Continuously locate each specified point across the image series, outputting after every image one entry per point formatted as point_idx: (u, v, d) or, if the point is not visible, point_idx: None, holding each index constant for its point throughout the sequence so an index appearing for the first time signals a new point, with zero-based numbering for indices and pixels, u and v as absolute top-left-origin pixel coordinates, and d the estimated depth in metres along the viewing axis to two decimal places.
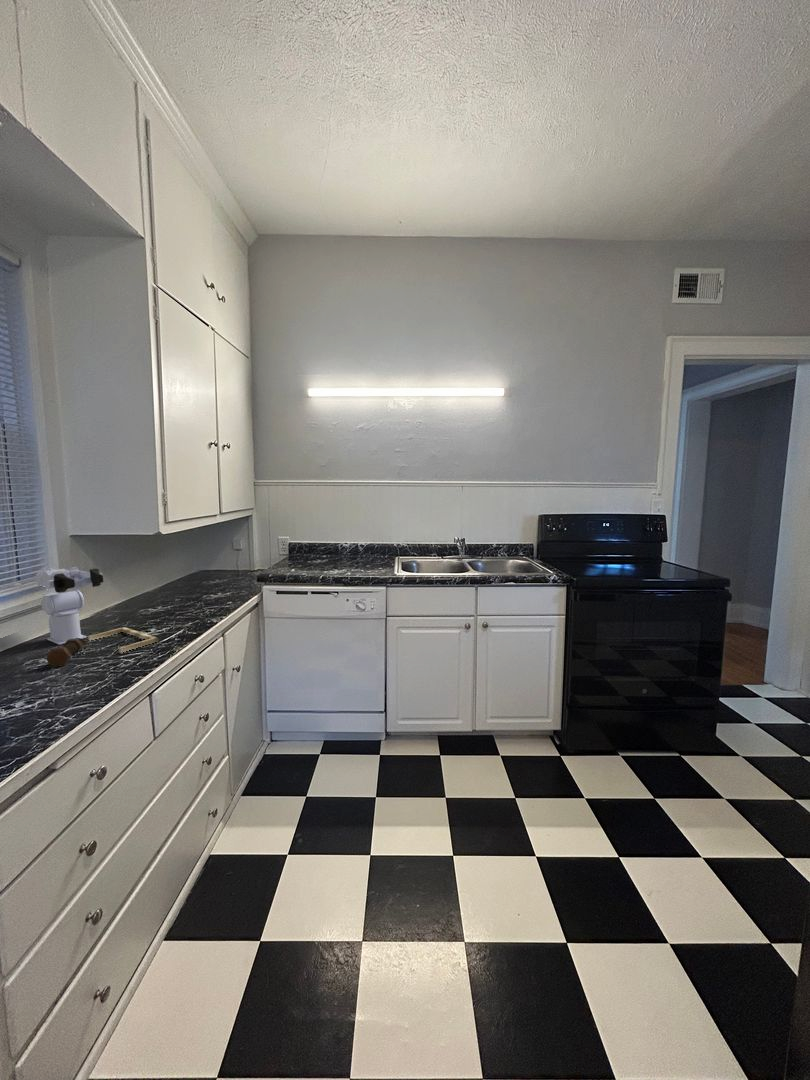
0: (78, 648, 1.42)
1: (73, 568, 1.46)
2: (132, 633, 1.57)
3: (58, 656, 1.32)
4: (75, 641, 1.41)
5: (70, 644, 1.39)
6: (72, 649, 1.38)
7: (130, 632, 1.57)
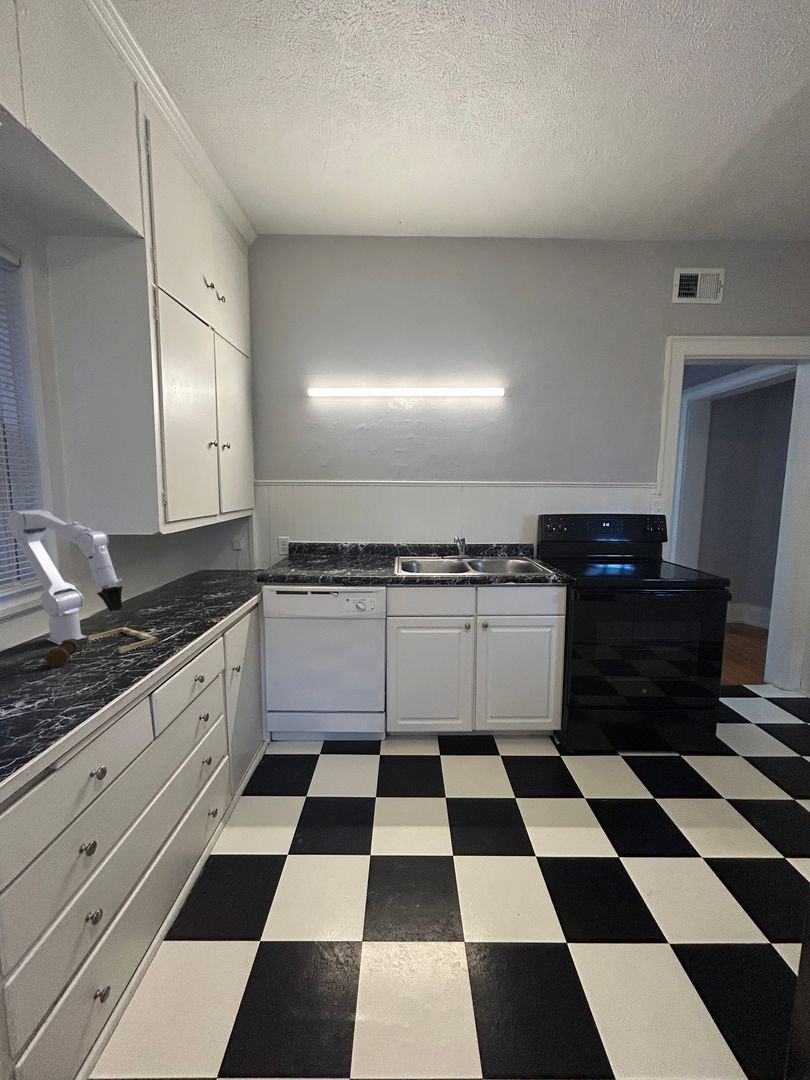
0: (74, 649, 1.41)
1: (120, 580, 1.50)
2: (132, 633, 1.57)
3: (57, 656, 1.32)
4: (71, 642, 1.41)
5: (67, 645, 1.39)
6: (69, 649, 1.38)
7: (130, 632, 1.57)
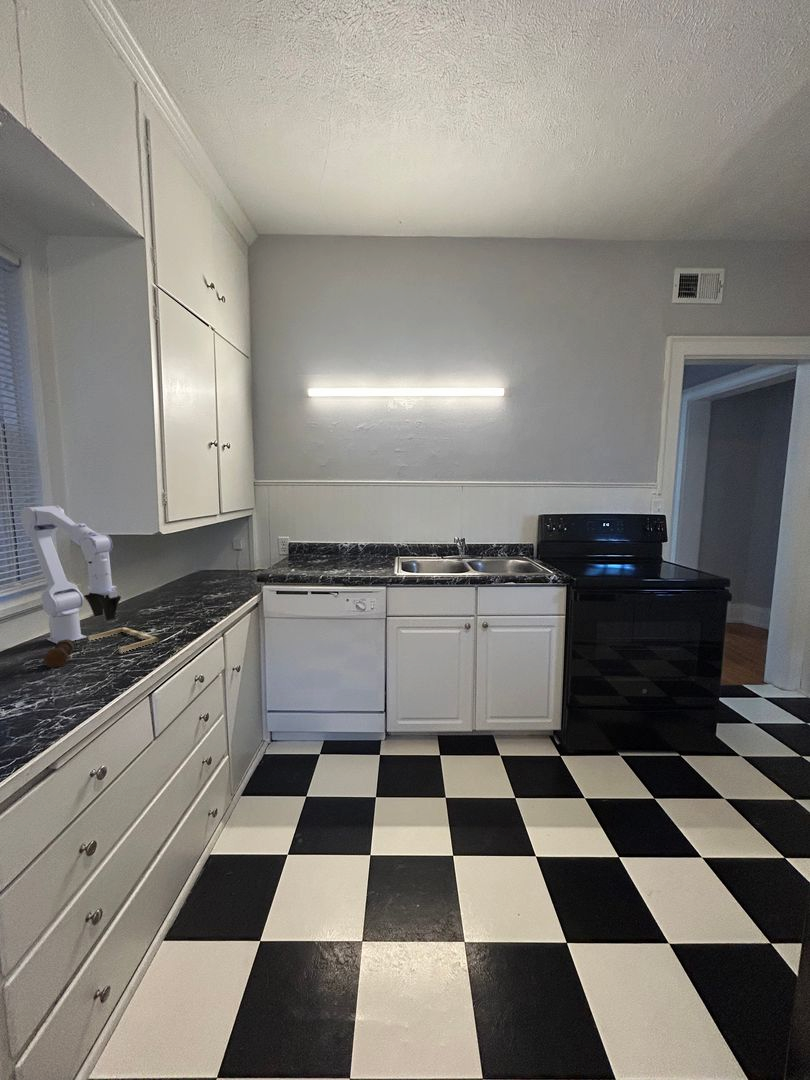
0: (70, 649, 1.41)
1: None
2: (132, 633, 1.57)
3: (56, 656, 1.32)
4: (67, 642, 1.41)
5: (63, 645, 1.39)
6: (66, 650, 1.38)
7: (130, 632, 1.57)
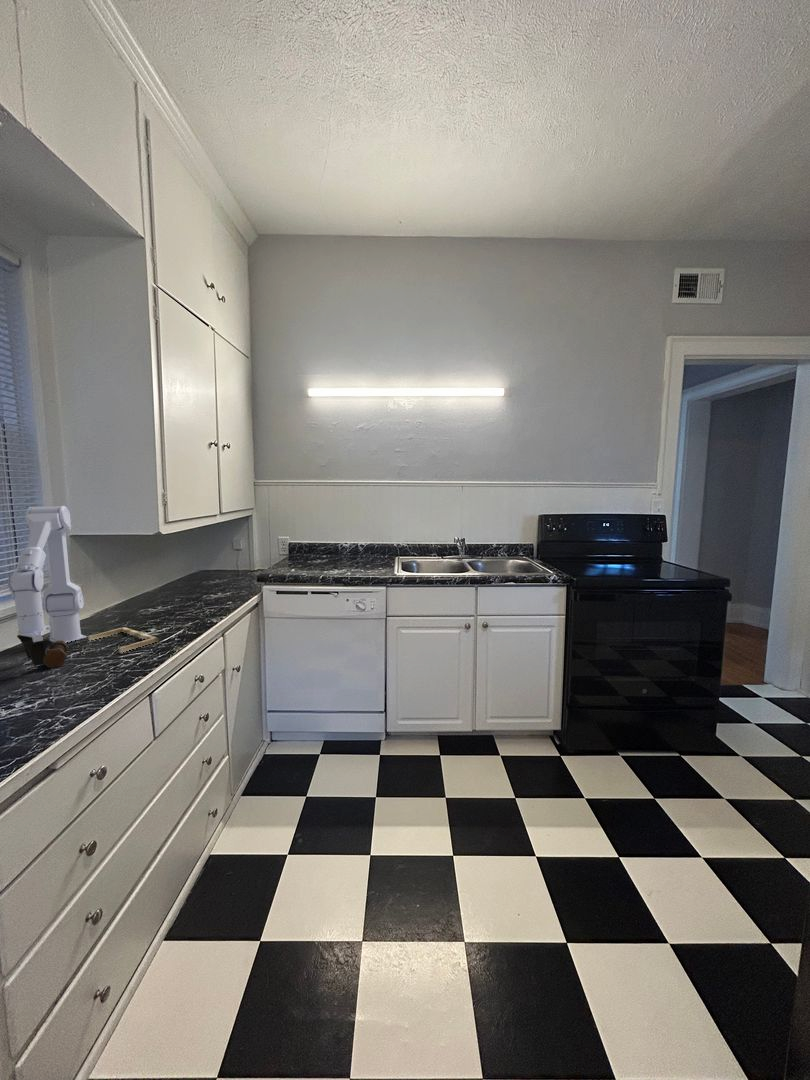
0: (65, 650, 1.40)
1: None
2: (132, 633, 1.57)
3: (55, 657, 1.31)
4: (61, 643, 1.40)
5: (58, 646, 1.38)
6: (63, 650, 1.37)
7: (130, 632, 1.57)
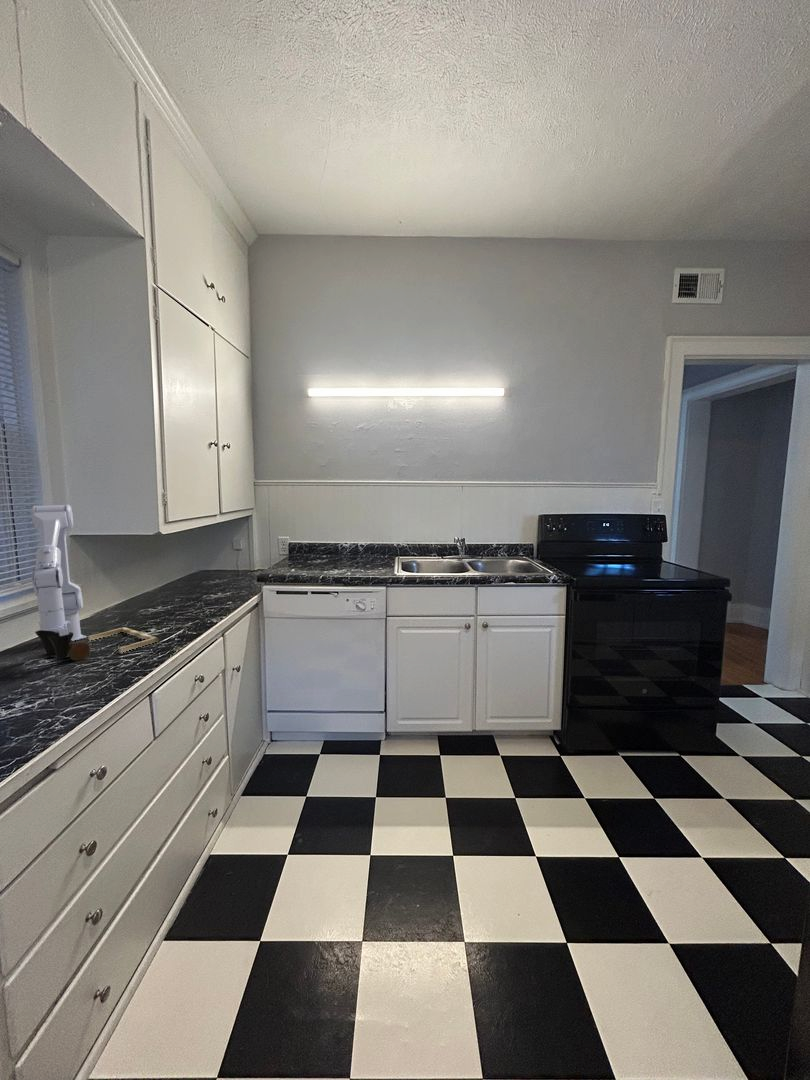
0: None
1: None
2: (132, 633, 1.57)
3: (81, 649, 1.36)
4: None
5: None
6: None
7: (130, 632, 1.57)
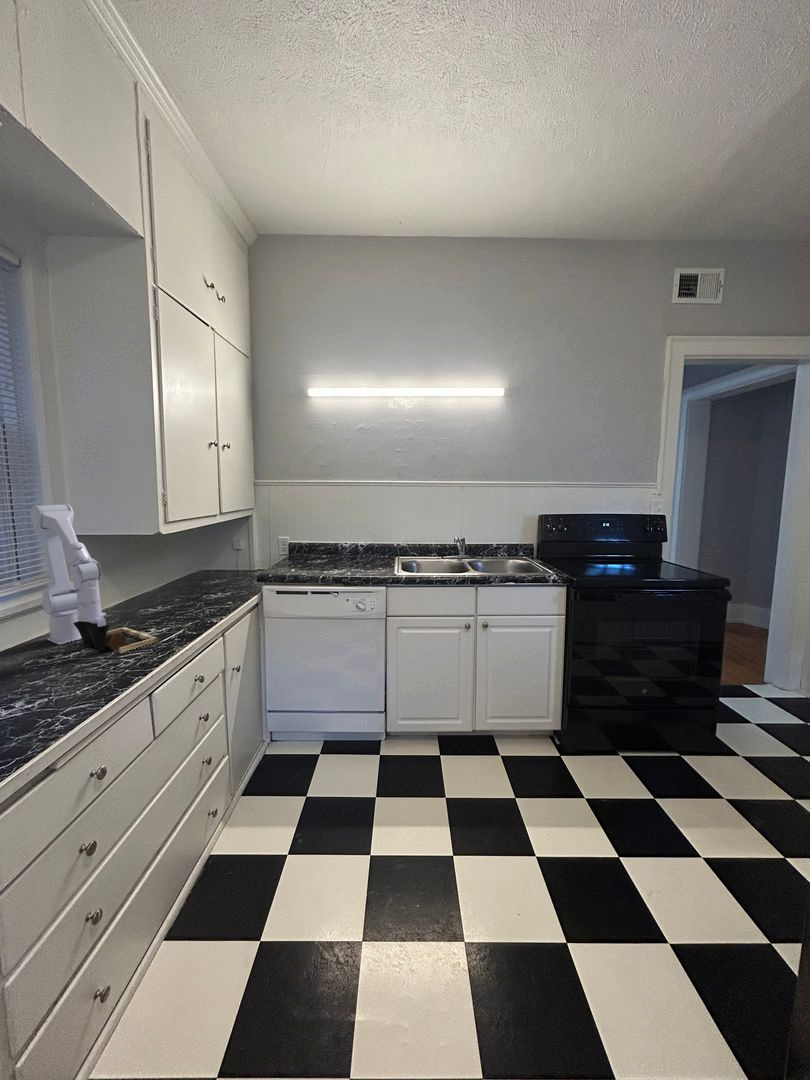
0: None
1: None
2: (132, 633, 1.57)
3: (119, 639, 1.45)
4: None
5: None
6: None
7: (130, 632, 1.57)
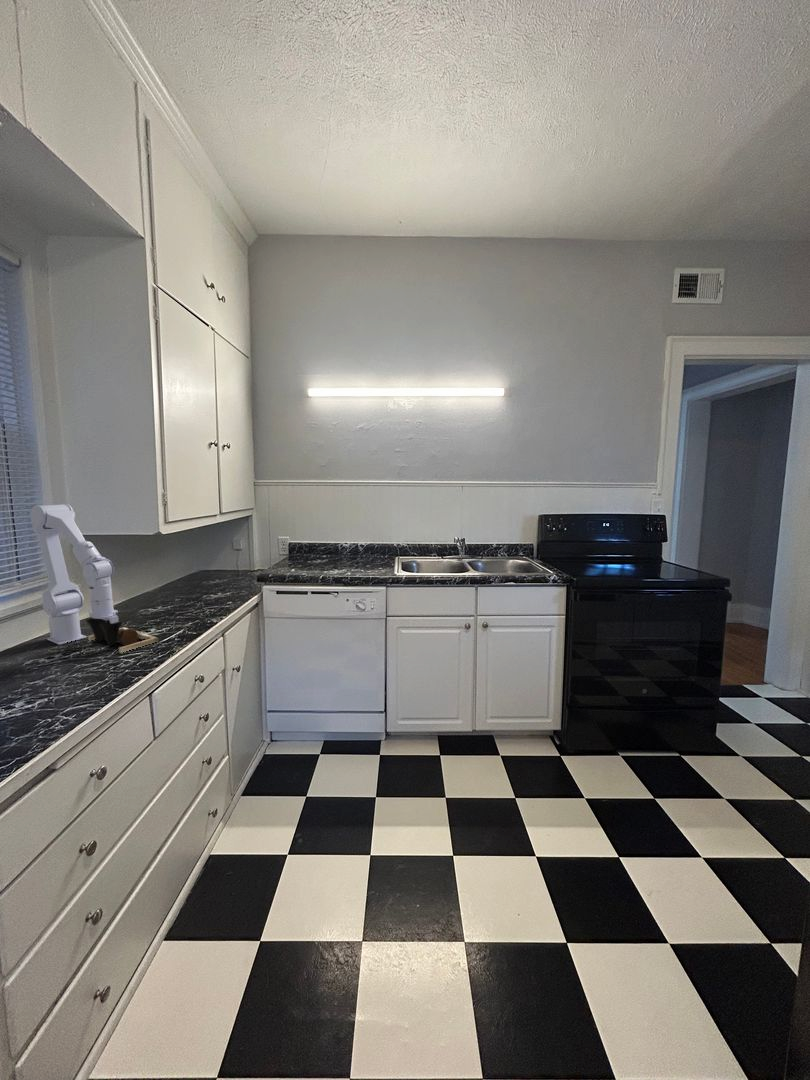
0: None
1: None
2: None
3: (130, 636, 1.48)
4: None
5: None
6: None
7: None
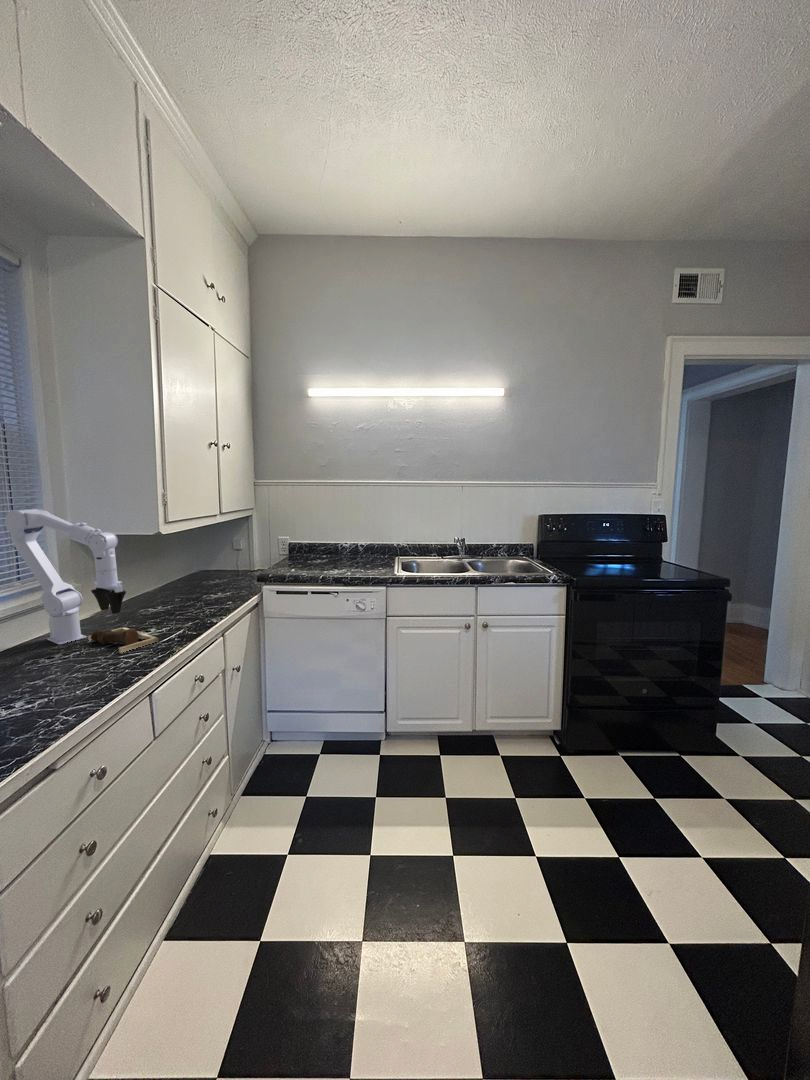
0: None
1: None
2: None
3: (132, 636, 1.48)
4: (110, 630, 1.51)
5: (113, 632, 1.50)
6: None
7: None
